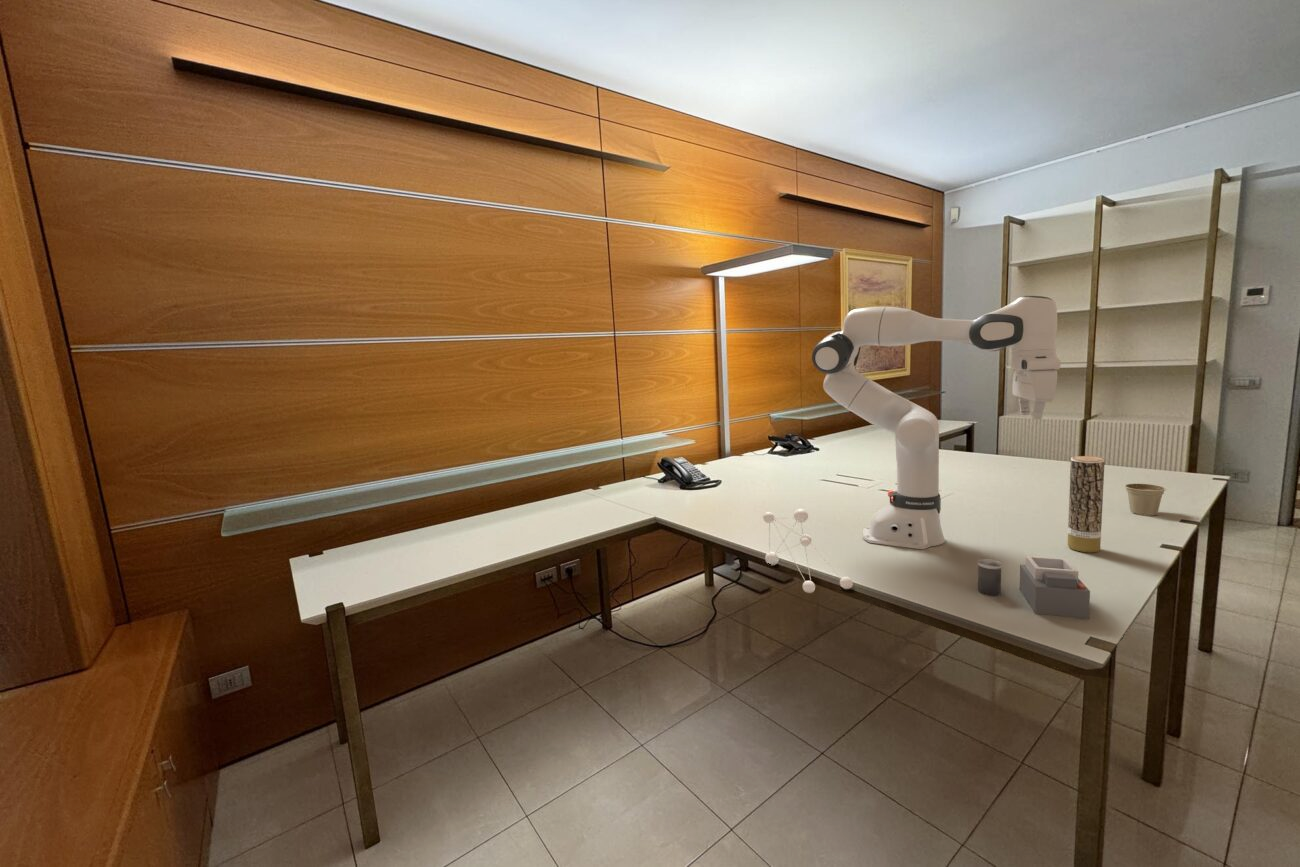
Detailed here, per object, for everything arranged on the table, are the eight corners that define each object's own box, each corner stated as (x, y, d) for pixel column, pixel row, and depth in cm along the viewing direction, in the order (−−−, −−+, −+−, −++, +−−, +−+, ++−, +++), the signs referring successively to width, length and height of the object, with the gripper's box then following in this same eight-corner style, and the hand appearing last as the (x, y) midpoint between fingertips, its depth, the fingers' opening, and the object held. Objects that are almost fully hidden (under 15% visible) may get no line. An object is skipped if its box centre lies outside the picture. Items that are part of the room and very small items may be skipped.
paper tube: (1106, 553, 133) (1111, 460, 130) (1076, 553, 135) (1080, 461, 131) (1089, 544, 140) (1093, 455, 137) (1061, 544, 141) (1065, 456, 138)
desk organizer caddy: (1088, 618, 103) (1090, 579, 102) (1035, 613, 107) (1036, 575, 106) (1067, 593, 114) (1068, 557, 113) (1019, 589, 118) (1020, 554, 116)
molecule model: (786, 563, 146) (799, 503, 145) (851, 601, 124) (867, 530, 123) (746, 561, 141) (759, 498, 139) (807, 600, 118) (823, 525, 117)
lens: (979, 594, 116) (980, 565, 115) (975, 586, 120) (976, 558, 119) (1003, 597, 114) (1004, 567, 113) (998, 588, 119) (999, 560, 118)
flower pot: (1137, 518, 157) (1139, 491, 156) (1115, 509, 166) (1117, 483, 165) (1173, 517, 156) (1174, 490, 155) (1148, 508, 165) (1150, 482, 164)
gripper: (1006, 361, 137) (1004, 412, 139) (1030, 363, 118) (1027, 421, 120) (1034, 360, 135) (1032, 412, 137) (1063, 361, 116) (1060, 421, 118)
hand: (1030, 416), depth 128 cm, fingers open, 8 cm apart
